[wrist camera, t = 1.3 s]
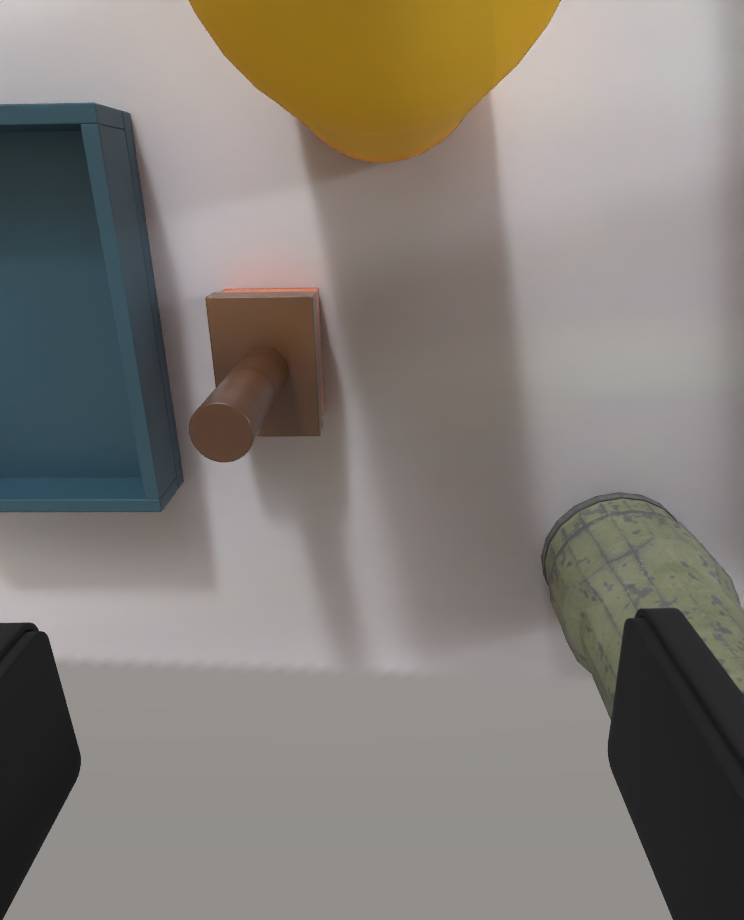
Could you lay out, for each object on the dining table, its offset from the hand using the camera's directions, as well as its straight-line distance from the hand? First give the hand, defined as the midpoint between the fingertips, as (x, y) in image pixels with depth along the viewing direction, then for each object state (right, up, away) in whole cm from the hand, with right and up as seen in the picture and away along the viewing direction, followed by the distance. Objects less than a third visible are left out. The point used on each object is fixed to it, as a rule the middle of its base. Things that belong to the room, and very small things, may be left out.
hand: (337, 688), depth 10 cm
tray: (-18, +11, +24) cm, 32 cm away
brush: (-5, +10, +25) cm, 27 cm away
